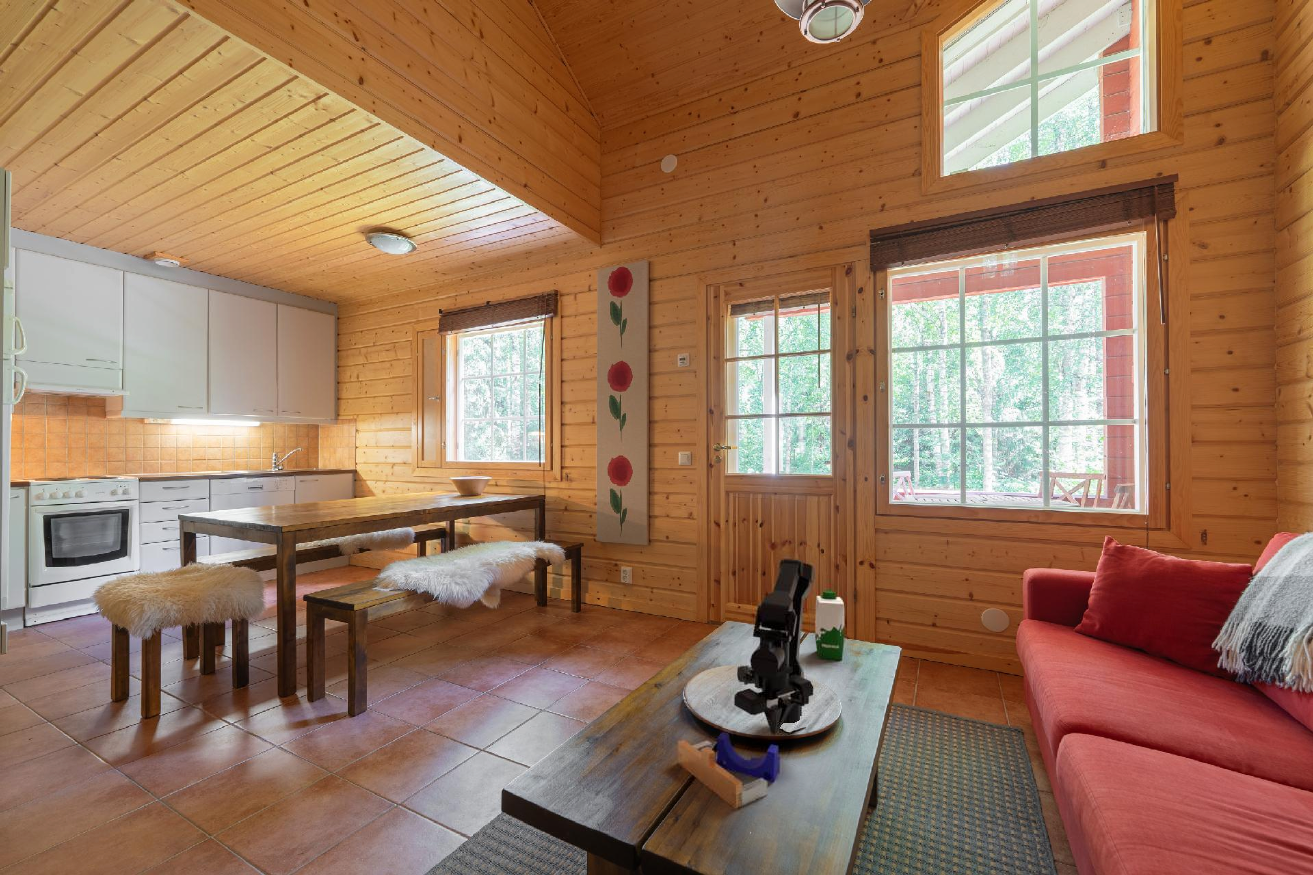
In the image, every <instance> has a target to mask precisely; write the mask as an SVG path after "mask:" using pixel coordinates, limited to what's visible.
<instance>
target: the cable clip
mask: <svg viewBox="0 0 1313 875" xmlns="http://www.w3.org/2000/svg"><path fill="white" fill-rule="evenodd" d="M716 740H717V741H716V742H717V745H716V746H717V747H716V748H717V749H716V764H718V765H719V766H720V767H722V768H723V769H724V768H725V770H726V771H732V772H733V773H739V774H741V773H742V775H745V776H749V775H750V776H749V777H753V778H756V779H760V778H763V779H764V780H766V781H767V782H771V783H775V781H776V779H777V777H778V775H779V773H780V769H781V768H780V766H781V762H780V761H781V759H780V758H781V757H779V745H776V744H772V743H771V744H770V746H769V747H768V749H767V751H766V755H764V756H760V757H752V756H751V757H750V759H746V758H744V757H742V756H741V755H739V754H738V752H736V750H735V749H734V748H733V745H732V743H731V739H730V733H728V732H724V731H722V732H721V733H720V734H719V736H718V737H717V739H716Z"/></svg>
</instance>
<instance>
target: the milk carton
mask: <svg viewBox="0 0 1313 875" xmlns="http://www.w3.org/2000/svg"><path fill="white" fill-rule="evenodd" d="M814 617H815V622H814V624H815V625H814V632H815V633H814V638H815V648H816V652H817V656H818V659H820V660H832V661H834V660H835V661H843V657H844V656H843V654H844V647H845V646H844V645H845V604H844V601H843V599H842V598H841V597H839V596H836V591H835V590H832V589H831V590H829V589H828V590H827V589H824V590H822V595H816V600H815V616H814Z"/></svg>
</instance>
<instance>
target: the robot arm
mask: <svg viewBox="0 0 1313 875" xmlns="http://www.w3.org/2000/svg"><path fill="white" fill-rule="evenodd" d="M778 564H779V565H778V571H777V572H778V573H777V578H776V581H775V584H774V587H773V589H772V591H771V592H770V593H768V594H767V595H765V596H764V597H763V599H762V601H761V603H760V604H759V605H758V607H757V608H756V614H755V615H756V616H755V622H754V628H753V634H752V637H753V638H758V639H759V644H758V646H757V647H756V648H755V649H754V651H753V653H752V654H751V656H750V661H749V662H750V667H749V666H748V665H740V666H738V667H737V673H736V676H737V680H738V682H739V683H743V685H745V686H747V685H754V687H755V688H756V689H761V691H759V692H756V691H755V690H753V689H751V688H746V689H744V690H739V691H737V692H735V694H734V697H733V698H734V699H733V700H734V702H733V704H734V706H736V707H737V708H738V709H740V710H742V711H744V712H745V713H747V714H749V715H751V716H757V715H760V714H762V713H764V716H765V719H766V722H767V724H768V727H769V730H770V733H771V734H772V735H778V733H779V731H780V730H781V729H780V727H781V725H782V724H783V723H795V722H797V721H799V720H800V716H802V717H803V713H802V711H803V707H805V705H808V704H810V697H811V696H814V685H813V684H812V682H811V681H810V680H809V679H807V678H805V672H804V670H803V667H802V665H801V663H800V660H799V658H800V646H801V634H802V625H803V614H804V604H805V603H804V602H805V599H806V598H807V596H809V594H810V592H812V588H813V583H815V579H816V569H815V567H814V566H813V565H811V563H806V562H804V561H802V560H801V559H797V558H796V559H794V558H787V557H785V558H781V560H780V561H779V562H778Z"/></svg>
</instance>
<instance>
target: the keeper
mask: <svg viewBox="0 0 1313 875" xmlns="http://www.w3.org/2000/svg"><path fill="white" fill-rule="evenodd" d="M677 763H678V764H679V766H681V767H682V768H683V769H685V770H686V771H687V772H688V773H689V774H691V776H693V777H695V778H696V779H697V780H699V782H701V783H702V782H703V783H702V784H703V785H705V786H706V787H707V786H708V787H707V788H708V789H710V790H711V791H712V790H713V791H712V792H714V793H715V794H716V795H717V794H718V796H719V797H720V798H721V799H722V800H724V801H725V802H726V801H727V802H726V803H728V804H729V806H731V805H732V806H731V807H732V808H733V809H735V810H737V809H739V808H741V807H743V805H744V806H745V805H748V804H750V803H752V802H754V801H756V799H757V800H759V799H761V798H763V797H765V796H767V795H768V781H766V780H764V779H763V778H760V779H759V778H757V779H755V780H753V781H751V782H749V783H745V784H744V785H743V782H742V781H741V780H740V779H738V778H737V777H736V776H734V775H733V774H731V773H730V772H729V771H728V770H727V769H724V768H722V767H720V766H719V765H718V764H717V762H716V752H715V751H714V750H713V744H712V742H711V741H709V740H704V741H702V742H699V743H697V744H690V743H689V742H688V741H687V740H684V739H682V740H679V741H677ZM747 803H748V804H747ZM738 807H739V808H738Z"/></svg>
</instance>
